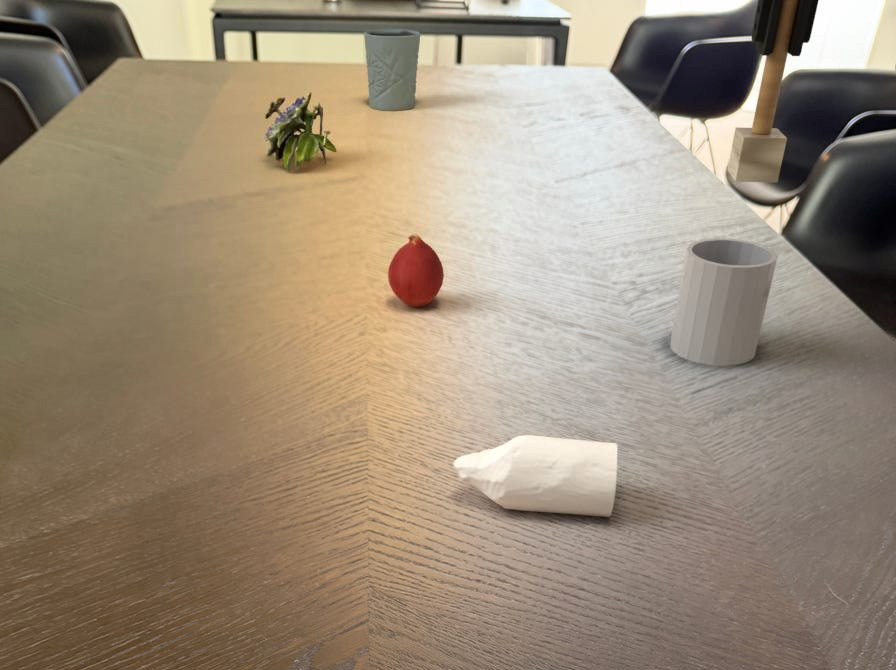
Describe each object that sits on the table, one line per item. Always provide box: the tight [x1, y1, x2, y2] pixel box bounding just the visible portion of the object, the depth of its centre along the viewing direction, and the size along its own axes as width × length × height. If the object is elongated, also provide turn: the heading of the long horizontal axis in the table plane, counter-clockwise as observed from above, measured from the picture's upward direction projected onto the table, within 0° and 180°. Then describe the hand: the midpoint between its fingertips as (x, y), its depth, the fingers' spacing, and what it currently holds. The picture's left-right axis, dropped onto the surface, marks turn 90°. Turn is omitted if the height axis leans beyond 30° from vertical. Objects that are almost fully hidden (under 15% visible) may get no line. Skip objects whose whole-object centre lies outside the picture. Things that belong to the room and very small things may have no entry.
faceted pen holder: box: [669, 237, 779, 367], centre depth 97 cm, size 8×8×10 cm
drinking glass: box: [363, 28, 421, 112], centre depth 185 cm, size 10×10×12 cm
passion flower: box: [264, 91, 337, 173], centre depth 154 cm, size 11×11×12 cm
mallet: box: [727, 0, 799, 183], centre depth 83 cm, size 4×4×15 cm
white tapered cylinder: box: [453, 434, 619, 518], centre depth 75 cm, size 6×12×6 cm, turn 83°
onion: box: [387, 233, 445, 308], centre depth 106 cm, size 6×6×8 cm
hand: (777, 51), depth 81 cm, fingers closed on mallet, 1 cm apart
